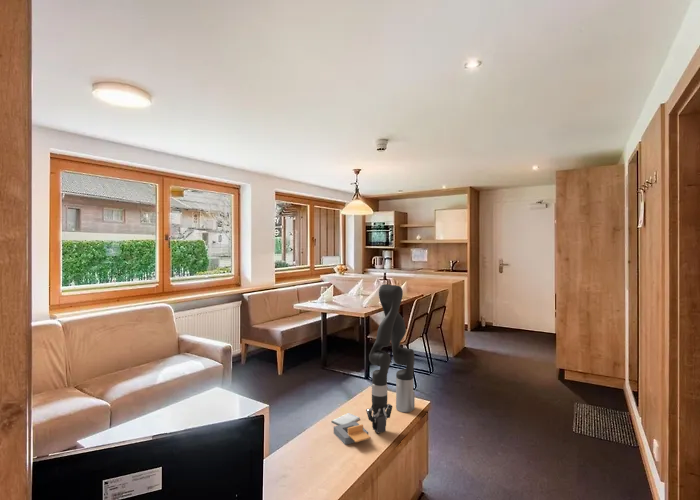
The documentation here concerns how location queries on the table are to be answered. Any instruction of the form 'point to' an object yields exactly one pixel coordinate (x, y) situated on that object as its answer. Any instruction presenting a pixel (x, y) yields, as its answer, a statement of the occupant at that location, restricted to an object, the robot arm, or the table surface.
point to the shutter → (358, 433)
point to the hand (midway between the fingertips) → (379, 428)
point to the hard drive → (345, 419)
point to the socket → (345, 432)
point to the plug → (381, 424)
